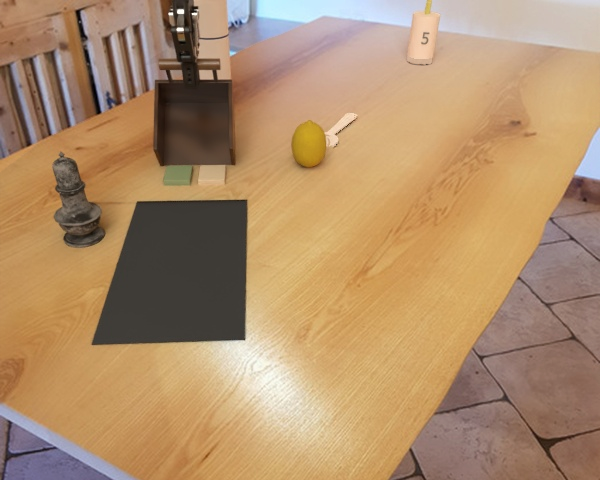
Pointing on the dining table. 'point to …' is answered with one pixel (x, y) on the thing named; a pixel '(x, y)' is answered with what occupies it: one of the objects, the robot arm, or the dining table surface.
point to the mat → (179, 275)
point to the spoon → (338, 129)
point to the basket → (194, 118)
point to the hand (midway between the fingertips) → (192, 85)
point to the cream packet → (212, 175)
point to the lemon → (309, 144)
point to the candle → (423, 33)
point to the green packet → (178, 175)
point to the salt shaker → (75, 206)
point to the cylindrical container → (214, 36)
